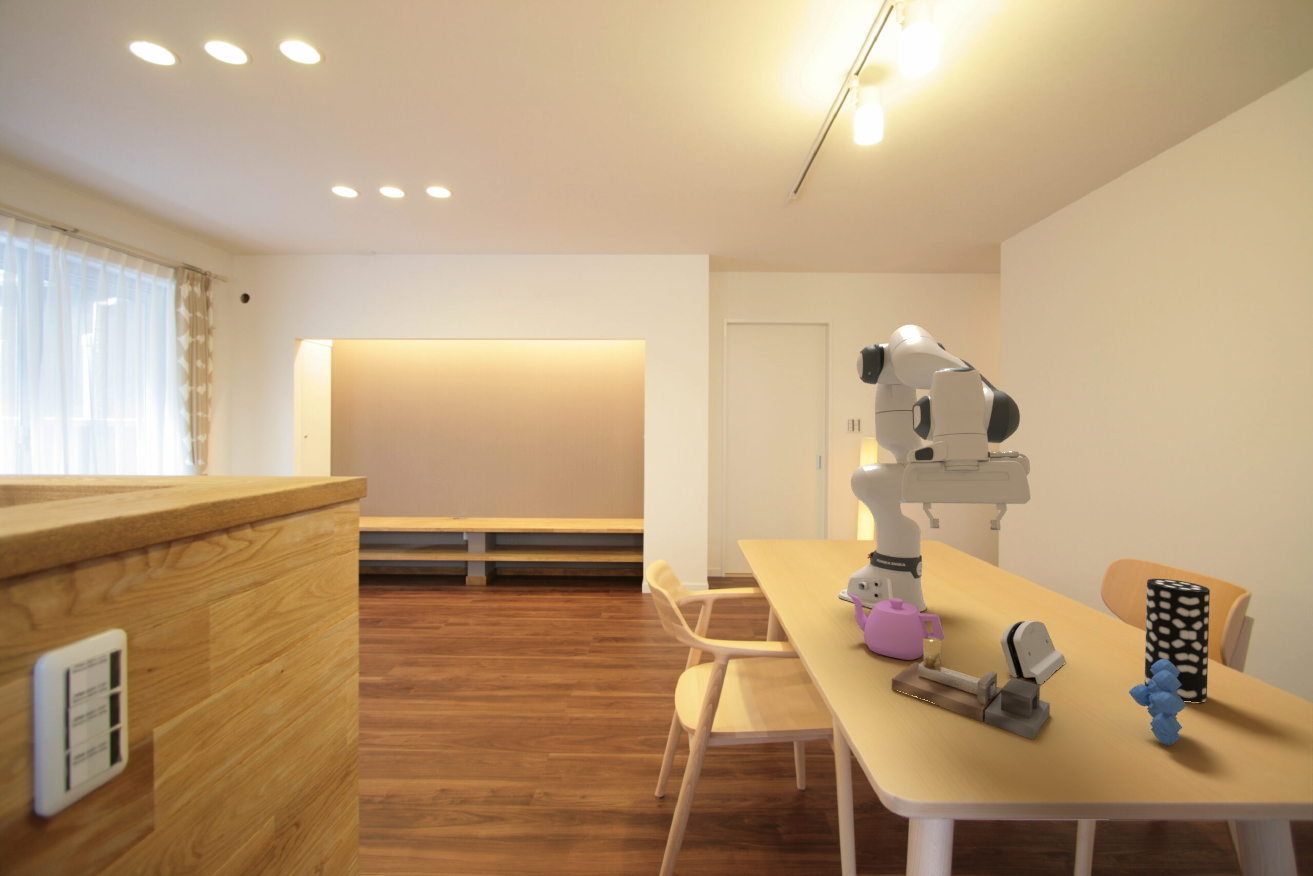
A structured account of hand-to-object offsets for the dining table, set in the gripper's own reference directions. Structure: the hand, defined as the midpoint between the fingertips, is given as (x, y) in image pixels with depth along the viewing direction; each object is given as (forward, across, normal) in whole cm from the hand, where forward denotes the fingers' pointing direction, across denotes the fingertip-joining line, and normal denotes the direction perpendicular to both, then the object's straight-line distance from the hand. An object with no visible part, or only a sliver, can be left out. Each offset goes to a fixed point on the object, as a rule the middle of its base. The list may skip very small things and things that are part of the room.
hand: (964, 529), depth 97 cm
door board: (+30, +1, -3) cm, 30 cm away
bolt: (+28, +3, -3) cm, 28 cm away
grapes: (+32, -25, -5) cm, 41 cm away
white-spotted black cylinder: (+29, -33, -26) cm, 51 cm away
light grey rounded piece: (+28, -11, -26) cm, 40 cm away
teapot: (+27, +15, -22) cm, 38 cm away
